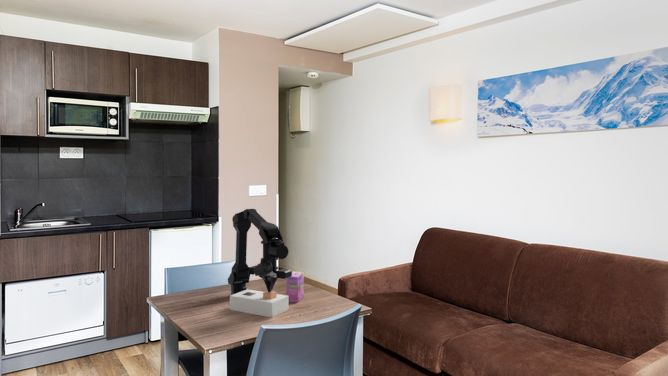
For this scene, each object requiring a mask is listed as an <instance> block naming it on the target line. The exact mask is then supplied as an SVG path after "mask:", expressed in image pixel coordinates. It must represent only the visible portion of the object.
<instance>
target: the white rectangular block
mask: <svg viewBox="0 0 668 376" xmlns="http://www.w3.org/2000/svg"><path fill="white" fill-rule="evenodd" d="M247 292H251V293H255V294H254V295H251V296H246V295H242V294H244V293H247ZM264 292H265V291H261V290H255V289H248V288H246V290H244V291H241V292H239V293H236V294H233V295H231V294H230V295H229V296H230V297H229V310H230V311H235V312H241V313H246V314H252V315H257V316H262V317H268V318H274V317H276V316H278V315H281V314H282V313H284V312H287V311H288V310H290V307H289V303H290V302H289V296H287V295H286V294H280V293H276V298H274V299H265V298H263V293H264Z"/></svg>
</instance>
